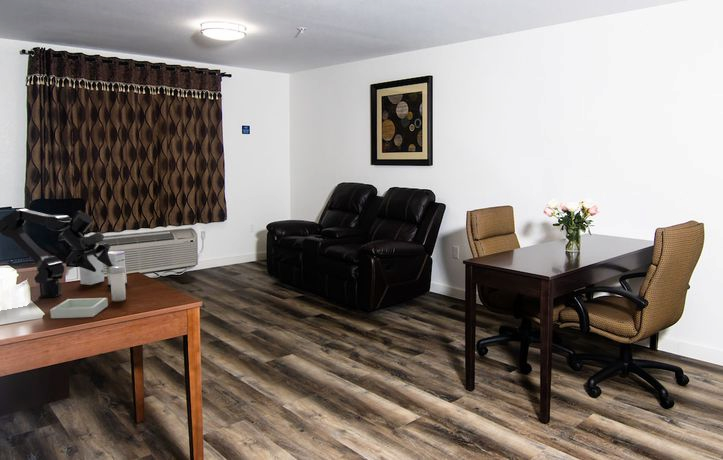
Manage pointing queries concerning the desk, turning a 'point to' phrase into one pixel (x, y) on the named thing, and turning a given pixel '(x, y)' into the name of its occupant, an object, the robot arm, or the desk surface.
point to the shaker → (117, 283)
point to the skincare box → (89, 276)
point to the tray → (79, 308)
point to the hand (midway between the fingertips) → (103, 268)
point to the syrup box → (116, 262)
